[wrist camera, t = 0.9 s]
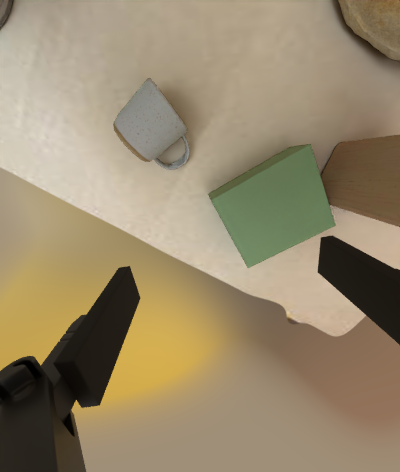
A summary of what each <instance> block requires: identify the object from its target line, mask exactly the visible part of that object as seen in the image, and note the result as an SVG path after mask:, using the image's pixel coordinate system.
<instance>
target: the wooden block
mask: <svg viewBox="0 0 400 472" xmlns="http://www.w3.org/2000/svg"><path fill="white" fill-rule="evenodd" d="M321 179H322V183H323V186H324V189H325V192H326V196H327V199H328V202H329V204H330V205H333V206H336V207H339V208H342V209H345V210H348V211H351V212H354V213H357V214H360V215H364V216H367V217H370V218H373V219H376V220H379V221H383V222H386V223H389V224H392V225H395V226H398V227H400V135H394V136H386V137H379V138H371V139H363V140H356V141H348V142H341V143H339V144H338V145H337V146H336V147H335V149H334V151H333V153H332V155H331V157H330V159H329V161H328V163H327V165H326V167H325V169H324V171H323V173H322V175H321Z"/></svg>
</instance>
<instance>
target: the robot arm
mask: <svg viewBox="0 0 400 472" xmlns="http://www.w3.org/2000/svg"><path fill="white" fill-rule="evenodd" d="M12 2H13V0H0V27H1V26H2V24H3V23H4V22H5V20H6V19H7V17H8V15H9V12H10V10H11V6H12ZM318 273H319V274H320V275H322V276H323V277H324V278H325V279H326V280H327V281H328V282H329V283H331V284H332V285H333V286H334V287H335V288H336V289H337V290H339V291H340V292H341V293H342V294H343V295H344V296H345V297H346V298H348V299H349V300H350V301H351V302H352V303H353V304H354V305H355V306H357V307H358V308H359V309H360V310H361V311H362V312H363V313H364V314H366V315H367V316H368V317H369V318H370V319H371V320H372V321H374V322H375V323H376V324H377V325H378V326H379V327H380V328H381V329H383V330H384V331H385V332H386V333H387V334H388V335H389V336H390V337H392V338H393V339H394V340H395V341H396V342H397V343H398V344H399V345H400V270H398V269H394V268H392V267H390V266H388V265H387V264H385V263H383V262H381V261H379V260H377V259H375V258H373V257H372V256H370V255H368V254H366V253H364V252H362V251H360V250H358V249H357V248H355V247H353V246H351V245H349V244H347V243H345V242H343V241H342V240H340V239H338V238H336V237H334V236H327V237H321V243H320V254H319V264H318ZM139 300H140V296H139V293H138V289H137V286H136V283H135V280H134V278H133V274H132V272H131V268H130V266H128V267H121V268H118V270H117V271H116V273H115V274H114V276H113V277H112V279H111V280H110V281H109V283H108V285H107V286H106V287H105V289H104V291H103V292H102V293H101V295H100V296H99V297H98V299H97V300H96V302H95V303H94V305H93V306H92V308H91V309H90V310H89V312H88V313H87V315H81V316H80V317H79V318H78V319H77V320H76V321H74V322H73V323H72V324H71V326H70V327H69V328H68V330H67V331H66V334H64V335H63V337H62V338H61V339H60V342H58V343H57V345H56V346H55V347H54V349H53V350H52V351H51V353H50V354H49V356H48V357H47V358H46V359H45V361H44V362H43V364H42V365H41V366H40V364H39V363H38V361H37V360H36V359H35V357H33V356H27V357H23V358H20V359H18V360H16V361H14V362H12V363H11V364H9V365H8V366H6V367H5V368H4V369H2V370H1V371H0V472H86V469H85V464H84V460H83V455H82V450H81V446H80V441H79V436H78V432H77V427H76V423H75V418H74V414H73V413H72V411H71V409H72V407H73V405H74V402H75V401H76V400H77V401H78V403H79V404H80V406H81V407H82V408H83V407H91V406H98V405H100V403H101V400H102V398H103V395H104V393H105V390H106V387H107V385H108V382H109V379H110V377H111V374H112V371H113V369H114V366H115V364H116V361H117V358H118V356H119V353H120V350H121V348H122V345H123V343H124V340H125V337H126V335H127V332H128V329H129V327H130V324H131V322H132V319H133V316H134V314H135V311H136V308H137V306H138V303H139Z"/></svg>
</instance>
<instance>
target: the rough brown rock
mask: <svg viewBox="0 0 400 472" xmlns="http://www.w3.org/2000/svg"><path fill="white" fill-rule="evenodd" d="M338 1H339V3H340V7H341V11H342V15H343V17H344V19H345V22H346V24H347V25H348V26H349V27H351V28H352V30H353V31H354V33H355V34H357V35H359V36H360V37H362V38H363V39H365V40H367V41H368V42H369V43H370V44H371V45H372V46H373V47H374V48H376V49H378V50H379V51H380V52H381V53H383V54H385V55H386V56H387V57H388V58H390V59H393V60H400V0H338Z"/></svg>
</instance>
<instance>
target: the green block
mask: <svg viewBox="0 0 400 472" xmlns="http://www.w3.org/2000/svg"><path fill="white" fill-rule="evenodd" d="M208 195H209V197H210V199H211V201H212V203H213V205H214V207H215V208H216V210H217V212H218V214H219V216H220V218H221V219H222V221H223V223H224V225H225V227H226V229H227V230H228V232H229V234H230V236H231V238H232V240H233V241H234V243H235V245H236V247H237V249H238V251H239V252H240V254H241V256H242V258H243V260H244V262H245V264H246V265H247V267H248V268H249V267H251V266H253V265H256V264H258V263H260V262H262V261H264V260H266V259H268V258H270V257H272V256H274V255H276V254H278V253H280V252H282V251H284V250H286V249H288V248H290V247H292V246H294V245H296V244H298V243H301V242H303V241H305V240H307V239H309V238H311V237H313V236H315V235H317V234H319V233H321V232H323V231H325V230H327V229H329V228H331V227H333V226H335V222H334V218H333V215H332V212H331V209H330V205H329V202H328V199H327V196H326V192H325V189H324V186H323V183H322V179H321V176H320V173H319V170H318V167H317V163H316V160H315V157H314V154H313V150H312V147H311V144H307V145H301V146H294V147H289V148H288V149H286V150H284V151H282V152H281V153H279V154H277V155H275V156H274V157H272V158H270V159H269V160H267V161H265V162H263V163H262V164H260V165H258V166H256V167H255V168H253V169H251V170H249V171H248V172H246V173H244V174H242V175H241V176H239V177H237V178H235V179H234V180H232V181H230V182H228V183H227V184H225V185H223V186H221V187H220V188H218V189H216V190H214V191H213V192H211V193H209V194H208Z"/></svg>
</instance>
